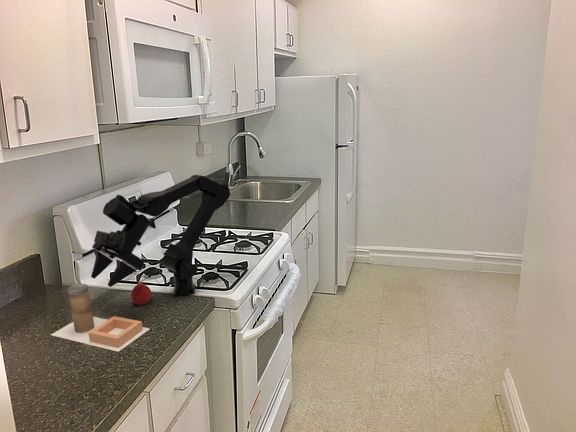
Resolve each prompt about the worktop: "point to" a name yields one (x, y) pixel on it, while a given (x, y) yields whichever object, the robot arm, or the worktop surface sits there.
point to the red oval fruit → (141, 294)
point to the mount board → (70, 333)
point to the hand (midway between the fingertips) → (100, 281)
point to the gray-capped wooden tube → (81, 308)
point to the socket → (105, 338)
